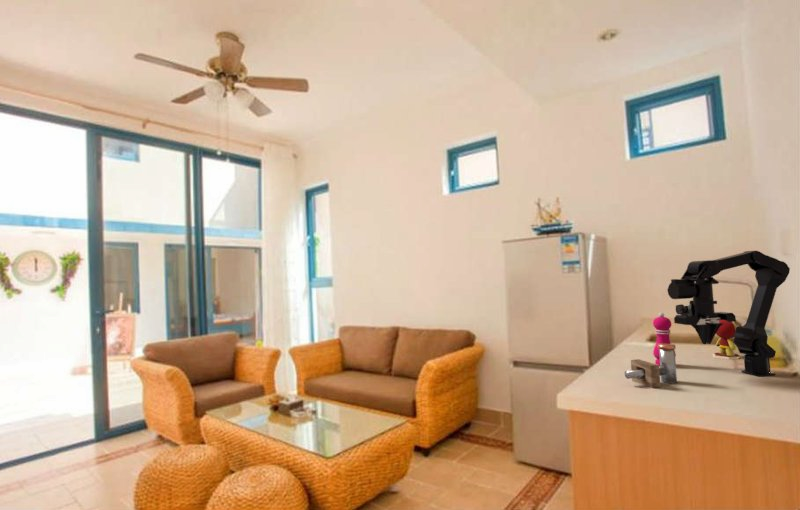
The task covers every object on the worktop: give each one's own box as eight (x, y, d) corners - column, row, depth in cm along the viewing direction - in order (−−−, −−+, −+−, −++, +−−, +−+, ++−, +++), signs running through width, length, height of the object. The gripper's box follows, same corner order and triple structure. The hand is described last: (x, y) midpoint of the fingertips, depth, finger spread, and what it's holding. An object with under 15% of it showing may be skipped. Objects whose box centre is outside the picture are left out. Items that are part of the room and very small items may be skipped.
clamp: (669, 378, 141) (667, 342, 141) (682, 382, 136) (679, 345, 136) (622, 383, 138) (620, 346, 139) (633, 387, 133) (630, 349, 134)
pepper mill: (680, 367, 155) (676, 313, 156) (658, 367, 156) (654, 313, 157) (671, 363, 162) (667, 311, 163) (651, 363, 163) (647, 311, 164)
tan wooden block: (640, 380, 141) (638, 359, 142) (660, 387, 132) (658, 364, 133) (632, 380, 141) (630, 359, 141) (652, 388, 132) (650, 365, 132)
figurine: (747, 358, 163) (744, 319, 164) (722, 359, 163) (719, 321, 164) (730, 354, 172) (727, 317, 173) (706, 355, 172) (703, 318, 172)
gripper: (706, 294, 152) (709, 338, 151) (660, 298, 149) (663, 342, 148) (735, 296, 141) (739, 343, 140) (686, 300, 138) (689, 347, 137)
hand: (706, 343), depth 142 cm, fingers closed
